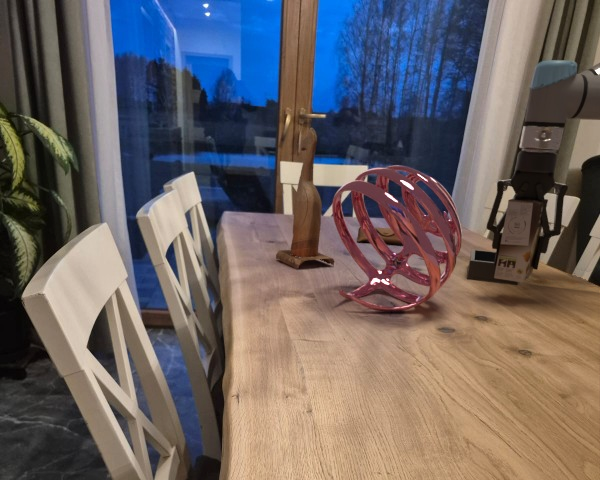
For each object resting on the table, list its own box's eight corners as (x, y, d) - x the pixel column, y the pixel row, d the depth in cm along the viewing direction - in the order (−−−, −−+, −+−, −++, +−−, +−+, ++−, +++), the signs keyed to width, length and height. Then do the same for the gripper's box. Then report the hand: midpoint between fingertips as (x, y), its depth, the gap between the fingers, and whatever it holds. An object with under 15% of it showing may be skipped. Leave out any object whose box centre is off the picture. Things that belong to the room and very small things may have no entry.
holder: (514, 271, 153) (518, 253, 151) (517, 284, 140) (521, 265, 138) (468, 266, 156) (471, 249, 154) (466, 278, 143) (470, 260, 141)
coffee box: (524, 283, 120) (540, 203, 113) (493, 278, 123) (507, 199, 116) (532, 274, 127) (548, 198, 120) (503, 270, 130) (517, 195, 123)
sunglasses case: (356, 241, 177) (358, 220, 178) (356, 248, 184) (358, 228, 185) (415, 245, 176) (417, 224, 176) (412, 253, 183) (414, 233, 183)
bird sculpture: (309, 257, 156) (316, 127, 142) (335, 266, 148) (346, 129, 134) (274, 260, 151) (278, 125, 136) (299, 270, 142) (306, 127, 128)
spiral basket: (330, 217, 94) (445, 120, 98) (273, 229, 119) (367, 151, 124) (414, 346, 105) (514, 254, 109) (345, 332, 130) (429, 258, 135)
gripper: (485, 149, 113) (466, 265, 123) (596, 154, 108) (567, 274, 118) (485, 147, 119) (467, 258, 130) (590, 152, 115) (563, 267, 125)
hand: (515, 266), depth 124 cm, fingers closed on coffee box, 7 cm apart
